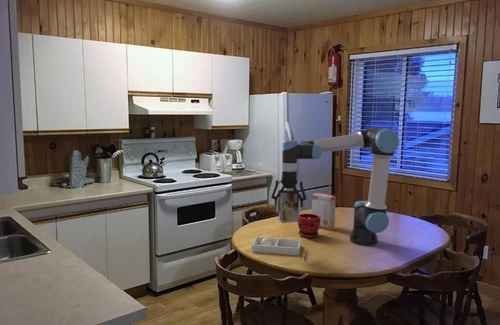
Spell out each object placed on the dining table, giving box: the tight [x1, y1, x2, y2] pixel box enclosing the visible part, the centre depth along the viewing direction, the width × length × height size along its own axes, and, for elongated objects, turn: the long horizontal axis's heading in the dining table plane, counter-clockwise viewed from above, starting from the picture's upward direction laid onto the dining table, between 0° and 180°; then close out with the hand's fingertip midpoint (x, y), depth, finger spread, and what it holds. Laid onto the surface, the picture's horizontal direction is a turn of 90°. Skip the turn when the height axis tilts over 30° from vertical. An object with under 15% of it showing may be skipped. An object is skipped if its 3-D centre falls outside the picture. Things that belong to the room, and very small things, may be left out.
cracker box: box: [311, 192, 337, 231], centre depth 261 cm, size 14×6×21 cm, turn 44°
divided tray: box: [251, 236, 302, 256], centre depth 221 cm, size 24×14×4 cm, turn 79°
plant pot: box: [297, 213, 321, 239], centre depth 246 cm, size 13×13×12 cm
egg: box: [261, 237, 271, 246], centre depth 222 cm, size 5×5×5 cm
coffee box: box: [278, 189, 300, 224], centre depth 217 cm, size 9×6×16 cm
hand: (288, 212), depth 217 cm, fingers closed on coffee box, 11 cm apart
